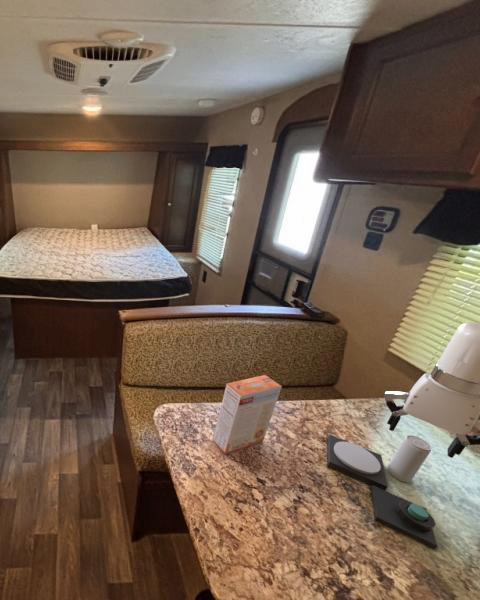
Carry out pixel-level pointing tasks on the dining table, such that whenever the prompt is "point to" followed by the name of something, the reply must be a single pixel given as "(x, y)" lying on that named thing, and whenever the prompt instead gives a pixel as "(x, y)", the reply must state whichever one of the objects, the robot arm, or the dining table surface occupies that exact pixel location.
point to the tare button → (417, 512)
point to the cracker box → (245, 413)
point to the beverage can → (409, 458)
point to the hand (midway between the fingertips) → (419, 440)
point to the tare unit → (401, 517)
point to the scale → (356, 462)
